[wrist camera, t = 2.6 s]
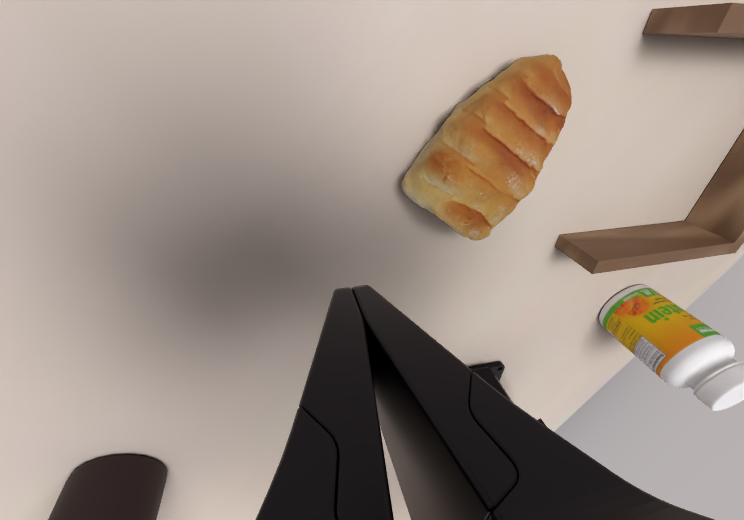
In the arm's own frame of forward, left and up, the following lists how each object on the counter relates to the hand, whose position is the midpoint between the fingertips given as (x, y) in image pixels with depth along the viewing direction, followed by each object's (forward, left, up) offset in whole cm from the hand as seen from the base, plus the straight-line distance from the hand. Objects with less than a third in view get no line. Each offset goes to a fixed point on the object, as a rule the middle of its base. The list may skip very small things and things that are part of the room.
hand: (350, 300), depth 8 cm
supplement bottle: (-15, -28, -11) cm, 34 cm away
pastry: (0, -9, -11) cm, 14 cm away
